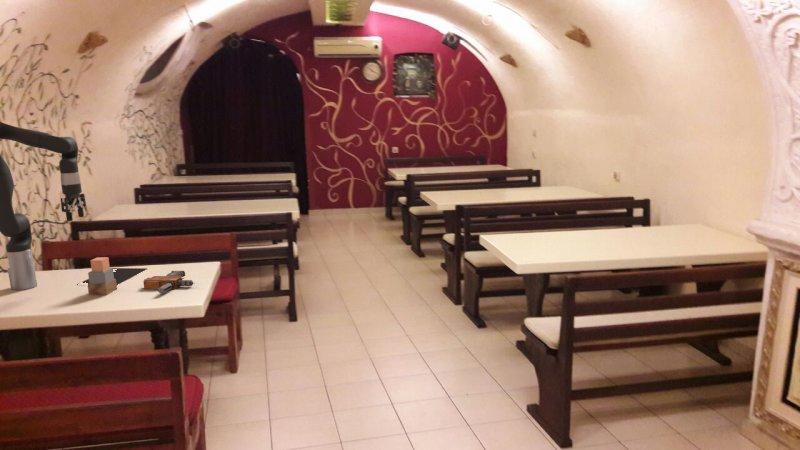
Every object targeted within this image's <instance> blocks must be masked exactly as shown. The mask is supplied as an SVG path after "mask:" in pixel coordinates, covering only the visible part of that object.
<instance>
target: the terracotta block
mask: <svg viewBox="0 0 800 450" xmlns="http://www.w3.org/2000/svg"><path fill="white" fill-rule="evenodd" d="M90 266H91V267H90V268H91V271H92V272H104V271H106V270H108V269H110V268H111V267H110V258H109V257H106V256H103V257H101V256H100V257H99V256H98V257H95V258H93V259H90Z"/></svg>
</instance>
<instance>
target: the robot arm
mask: <svg viewBox="0 0 800 450" xmlns="http://www.w3.org/2000/svg"><path fill="white" fill-rule="evenodd" d="M0 140H6V141H7V140H8V141H13V142H16V143H20V144H22V145H25V146H29V147H32V148H37V149H42V150H46V151H47V150H48V151H51V152H53V153H57V154H61V159H60V160H59V162H58V164H59V173H60V185H61V191H62V194H63V195H65V197H62V198H60V206H61V212H62V213H65V216H66V217H65V218H66V221H67V222H72V221H73V220H74V219H73V209H74V208H75V207H76V209H77V215H78V218H84V217H85V213H84V208H85V207H86V206H87V202H86V196H85V195H86V194H85V193H82V183H81V177H80V173H79V165H78V158H79V157H78V156H79V154H78V153H79V148H78V143H77V140H75V138H73V137H71V136H64V137H61V136H56V135H52V134H50V133H48V132H44V131H38V130H34V129H29V128H22V127H18V126H14V125H10V124H7V123H5V122H3V121H0ZM14 184H15V183H14V179H13V175H12V171H11V169H10V167H9V164H8V163H7V162H6V161H5V159H4V158H3V156H2V155H1V154H0V233H1V234H2V236H3V237H7V238H9V241H8V242H7V244H6V246H5V249H6V255H7V260H8V266H9V267H8V268H7V273H8V280H9V284H10V285H9V286H10V290H15V291H23V290H29V289H32V288H33V289H34V288H35V287H37V286H38V281H37V275H36V274H37V273H36V270H35V263H34V257H33V252H32V241H33V238H32V227H31V222H30V220H29V217H27V215H25V214H23V213H20V212H17V213H15V212H14V208H13V195H14V189H15V185H14Z"/></svg>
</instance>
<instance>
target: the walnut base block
mask: <svg viewBox="0 0 800 450" xmlns="http://www.w3.org/2000/svg"><path fill="white" fill-rule="evenodd" d="M87 289H88V290H87V291H88V296H108V295H110V294H112V293H114V292H115V291H117V290H118V285H117V284H116V279H113V280H111V281H110V282H108V283H107V284H90V283H89V284H88V286H87ZM113 291H114V292H113Z"/></svg>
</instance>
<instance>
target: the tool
mask: <svg viewBox="0 0 800 450" xmlns="http://www.w3.org/2000/svg"><path fill="white" fill-rule="evenodd" d="M185 276H186V272H185V270H171V272H169V273H167V274H166V275H155V276H152V277H147V278H145V279H143V289H145V290H146V289H147V290H148V289H149V290H150V289H151V290H152V289H153V290H155V289H157V292H158V293H159V294H163V293H166V292H168V291H169V290H171V289H178V288H180V287H192V286H193V285H194V281H193V280H191V279H185Z"/></svg>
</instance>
